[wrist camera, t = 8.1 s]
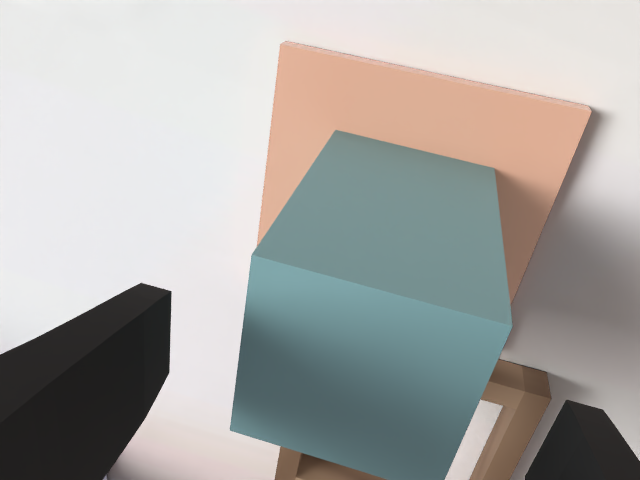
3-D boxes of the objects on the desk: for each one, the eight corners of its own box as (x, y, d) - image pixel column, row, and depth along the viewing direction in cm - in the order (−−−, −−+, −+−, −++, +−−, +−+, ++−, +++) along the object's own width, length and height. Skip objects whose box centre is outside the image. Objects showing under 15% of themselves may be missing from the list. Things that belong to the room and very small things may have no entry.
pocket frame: (282, 459, 23) (273, 484, 22) (310, 308, 19) (301, 329, 18) (474, 518, 22) (474, 546, 21) (546, 372, 18) (551, 398, 17)
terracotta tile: (256, 281, 19) (251, 289, 19) (285, 40, 15) (280, 44, 15) (490, 344, 18) (490, 354, 18) (588, 105, 14) (592, 111, 14)
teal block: (310, 261, 18) (229, 429, 12) (335, 129, 15) (251, 254, 9) (447, 298, 17) (437, 494, 11) (494, 167, 15) (512, 326, 9)
